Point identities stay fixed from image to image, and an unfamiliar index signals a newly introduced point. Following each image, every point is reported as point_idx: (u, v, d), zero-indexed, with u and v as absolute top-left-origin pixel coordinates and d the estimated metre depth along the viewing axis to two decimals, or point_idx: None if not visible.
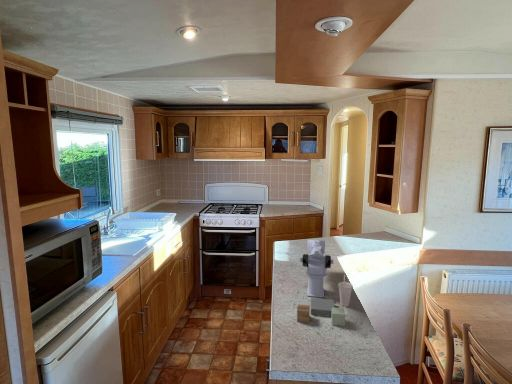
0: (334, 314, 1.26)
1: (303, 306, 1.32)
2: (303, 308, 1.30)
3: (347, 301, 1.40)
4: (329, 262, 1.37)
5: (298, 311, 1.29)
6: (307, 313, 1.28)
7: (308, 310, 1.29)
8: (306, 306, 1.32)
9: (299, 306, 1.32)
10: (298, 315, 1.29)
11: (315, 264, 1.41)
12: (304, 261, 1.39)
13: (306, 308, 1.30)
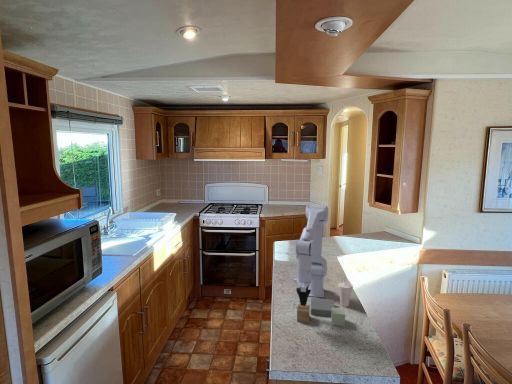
0: (334, 314, 1.26)
1: (303, 306, 1.32)
2: (303, 308, 1.30)
3: (347, 301, 1.40)
4: None
5: (298, 311, 1.29)
6: (307, 313, 1.28)
7: (308, 310, 1.29)
8: (306, 306, 1.32)
9: (299, 306, 1.32)
10: (298, 315, 1.29)
11: None
12: None
13: (306, 308, 1.30)
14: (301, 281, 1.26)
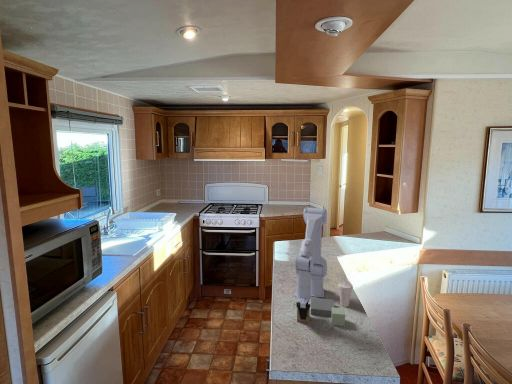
0: (334, 314, 1.26)
1: None
2: None
3: (347, 301, 1.40)
4: None
5: (298, 311, 1.29)
6: (307, 313, 1.28)
7: (308, 310, 1.28)
8: None
9: None
10: (298, 315, 1.29)
11: None
12: None
13: None
14: (301, 297, 1.27)
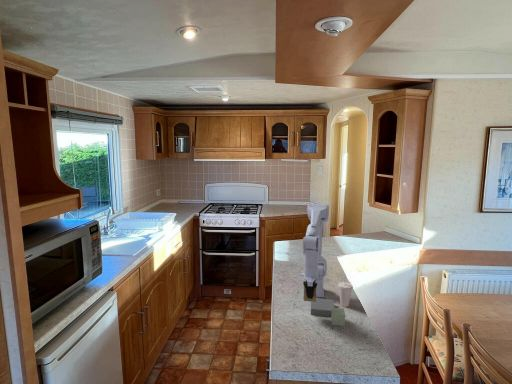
0: (334, 314, 1.26)
1: None
2: None
3: (347, 301, 1.40)
4: None
5: (305, 290, 1.30)
6: (314, 292, 1.29)
7: (315, 289, 1.30)
8: None
9: None
10: (305, 294, 1.30)
11: None
12: None
13: None
14: (308, 276, 1.29)
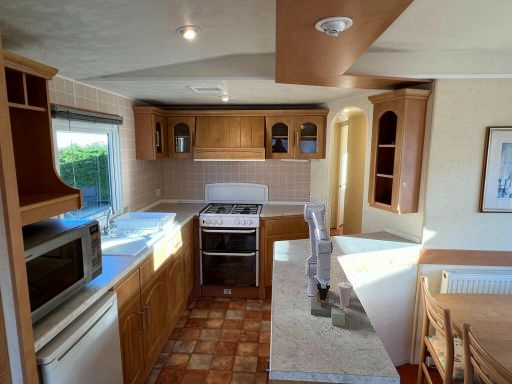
0: (334, 314, 1.26)
1: None
2: None
3: (347, 301, 1.40)
4: None
5: (318, 292, 1.35)
6: (327, 294, 1.35)
7: (328, 291, 1.35)
8: None
9: None
10: (318, 296, 1.35)
11: None
12: None
13: None
14: (321, 278, 1.34)
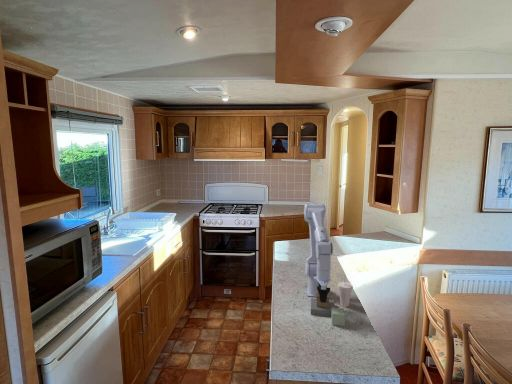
0: (334, 314, 1.26)
1: None
2: None
3: (347, 301, 1.40)
4: None
5: (318, 297, 1.36)
6: None
7: (327, 296, 1.35)
8: None
9: None
10: (318, 300, 1.36)
11: None
12: None
13: None
14: (321, 279, 1.34)
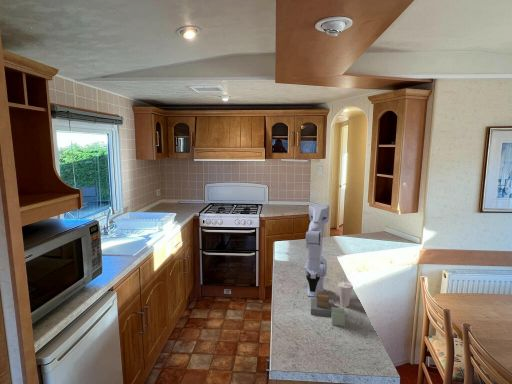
0: (334, 314, 1.26)
1: (322, 292, 1.39)
2: (323, 294, 1.37)
3: (347, 301, 1.40)
4: None
5: (318, 297, 1.35)
6: (326, 298, 1.35)
7: (327, 296, 1.35)
8: (325, 292, 1.38)
9: (318, 292, 1.39)
10: (318, 300, 1.36)
11: None
12: None
13: (325, 294, 1.37)
14: (310, 269, 1.34)
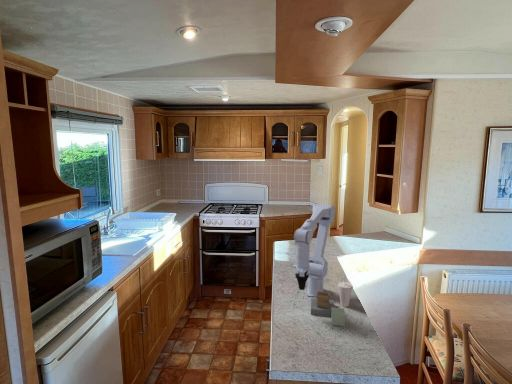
0: (334, 314, 1.26)
1: (323, 292, 1.38)
2: (323, 294, 1.37)
3: (347, 301, 1.40)
4: None
5: (318, 297, 1.35)
6: (327, 299, 1.35)
7: (328, 296, 1.35)
8: (325, 292, 1.38)
9: (319, 292, 1.39)
10: (318, 301, 1.35)
11: None
12: None
13: (325, 294, 1.37)
14: (300, 267, 1.35)
